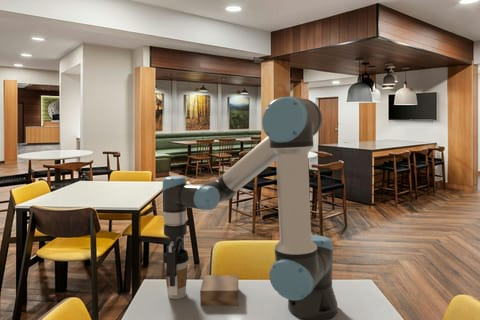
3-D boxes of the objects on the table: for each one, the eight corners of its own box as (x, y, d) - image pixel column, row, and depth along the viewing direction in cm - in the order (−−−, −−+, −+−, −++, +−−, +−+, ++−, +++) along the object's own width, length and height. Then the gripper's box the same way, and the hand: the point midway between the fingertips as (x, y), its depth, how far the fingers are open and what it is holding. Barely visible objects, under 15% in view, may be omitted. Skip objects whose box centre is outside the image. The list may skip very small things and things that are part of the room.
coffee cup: (184, 302, 122) (183, 257, 121) (160, 299, 124) (158, 255, 122) (192, 290, 130) (191, 248, 129) (169, 288, 132) (168, 247, 131)
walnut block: (238, 288, 132) (238, 275, 131) (238, 305, 120) (237, 290, 119) (204, 289, 132) (203, 275, 131) (200, 305, 120) (200, 290, 119)
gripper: (172, 215, 135) (173, 276, 137) (154, 231, 115) (156, 303, 117) (192, 215, 134) (194, 277, 137) (178, 232, 114) (179, 304, 116)
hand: (176, 289), depth 127 cm, fingers closed on coffee cup, 8 cm apart
